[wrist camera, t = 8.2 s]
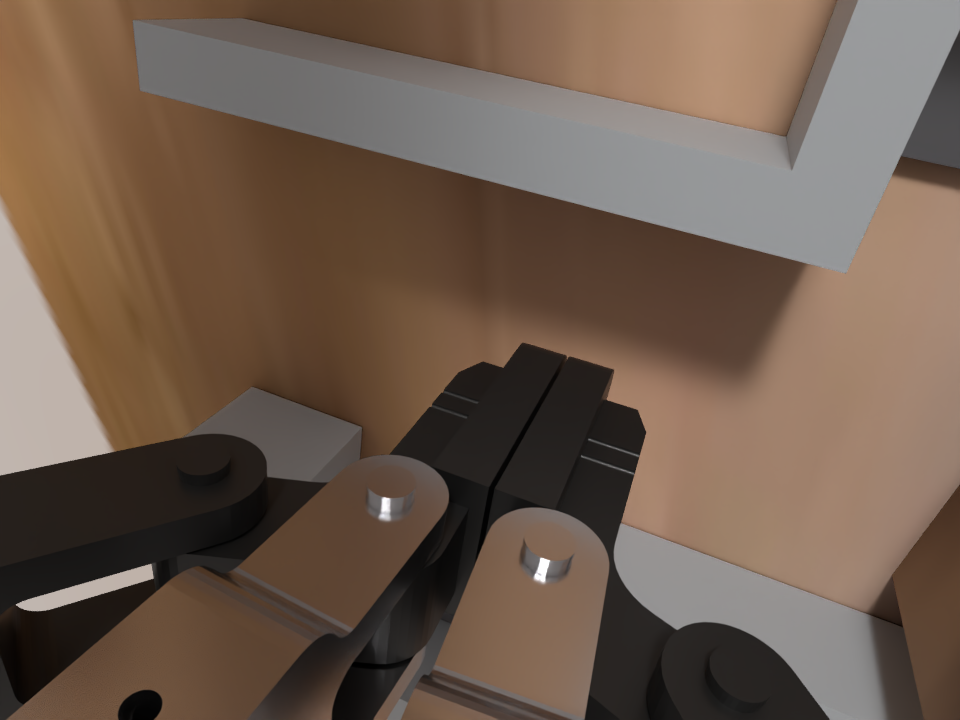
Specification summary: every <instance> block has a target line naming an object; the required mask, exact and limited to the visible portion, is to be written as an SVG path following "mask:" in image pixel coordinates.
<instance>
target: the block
mask: <svg viewBox="0 0 960 720" xmlns="http://www.w3.org/2000/svg"><path fill="white" fill-rule="evenodd" d="M892 578H893V582H894V587H895V591H896V596H897V600H898V605H899V609H900V614H901V618H902V623H903V627H904V632H905V636H906V641H907V646H908V650H909V655H910V659H911V664H912V668H913V673H914V677H915V682H916V686H917V691H918V695H919V700H920V704H921V709H922V713H923V718H924V720H960V485H959V487H958V488H957V489H956V491H955V492H954V493H953V495H952V496H951V497H950V499H949V500H948V501H947V503H946V504H945V505H944V507H943V508H942V509H941V511H940V512H939V513H938V515H937V516H936V517H935V519H934V520H933V521H932V523H931V524H930V525H929V527H928V528H927V529H926V531H925V532H924V533H923V535H922V536H921V537H920V539H919V540H918V541H917V543H916V544H915V545H914V547H913V548H912V549H911V551H910V552H909V553H908V555H907V556H906V557H905V559H904V560H903V561H902V563H901V564H900V565H899V567H898V568H897V569H896V571H895V572H894V573H893V575H892Z"/></svg>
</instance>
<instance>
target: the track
mask: <svg viewBox="0 0 960 720" xmlns="http://www.w3.org/2000/svg"><path fill="white" fill-rule="evenodd" d="M133 28H134V37H135V47H136V57H137V66H138V76H139V86H140V91H143V92H147V93H151V94H155V95H159V96H162V97H166V98H170V99H174V100H178V101H182V102H186V103H189V104H193V105H197V106H201V107H205V108H209V109H213V110H216V111H220V112H224V113H228V114H232V115H236V116H240V117H243V118H247V119H251V120H255V121H259V122H263V123H267V124H270V125H274V126H278V127H282V128H286V129H290V130H294V131H297V132H301V133H305V134H309V135H313V136H317V137H321V138H324V139H328V140H332V141H336V142H340V143H344V144H348V145H352V146H355V147H359V148H363V149H367V150H371V151H375V152H379V153H382V154H386V155H390V156H394V157H398V158H402V159H406V160H409V161H413V162H417V163H421V164H425V165H429V166H433V167H436V168H440V169H444V170H448V171H452V172H456V173H460V174H463V175H467V176H471V177H475V178H479V179H483V180H487V181H490V182H494V183H498V184H502V185H506V186H510V187H514V188H517V189H521V190H525V191H529V192H533V193H537V194H541V195H544V196H548V197H552V198H556V199H560V200H564V201H568V202H571V203H575V204H579V205H583V206H587V207H591V208H595V209H598V210H602V211H606V212H610V213H614V214H618V215H622V216H625V217H629V218H633V219H637V220H641V221H645V222H649V223H652V224H656V225H660V226H664V227H668V228H672V229H676V230H680V231H683V232H687V233H691V234H695V235H699V236H703V237H707V238H710V239H714V240H718V241H722V242H726V243H730V244H734V245H737V246H741V247H745V248H749V249H753V250H757V251H761V252H764V253H768V254H772V255H776V256H780V257H784V258H788V259H791V260H795V261H799V262H803V263H807V264H811V265H815V266H818V267H822V268H826V269H830V270H834V271H838V272H842V273H845V274H846V273H847V270H848V268H849V266H850V264H851V262H852V260H853V258H854V255H855V253H856V251H857V249H858V247H859V245H860V243H861V240H862V238H863V236H864V234H865V232H866V230H867V228H868V225H869V223H870V221H871V219H872V217H873V215H874V213H875V210H876V208H877V206H878V204H879V202H880V200H881V198H882V195H883V193H884V191H885V189H886V187H887V185H888V183H889V180H890V178H891V176H892V174H893V172H894V170H895V168H896V165H897V163H898V161H899V159H900V157H901V156H903V157H908V158H912V159H917V160H922V161H926V162H931V163H936V164H940V165H945V166H949V167H954V168H959V169H960V0H837V3H836V5H835V8H834V11H833V13H832V16H831V19H830V21H829V24H828V27H827V29H826V32H825V35H824V37H823V40H822V43H821V45H820V48H819V51H818V53H817V56H816V59H815V61H814V64H813V67H812V69H811V72H810V75H809V77H808V80H807V83H806V85H805V88H804V91H803V94H802V96H801V99H800V102H799V104H798V107H797V110H796V112H795V115H794V118H793V120H792V123H791V126H790V128H789V131H788V134H787V136H786V137H785V136H780V135H776V134H771V133H767V132H762V131H757V130H753V129H748V128H744V127H739V126H734V125H730V124H725V123H721V122H716V121H711V120H707V119H702V118H698V117H693V116H689V115H684V114H679V113H675V112H670V111H666V110H661V109H656V108H652V107H647V106H643V105H638V104H633V103H629V102H624V101H620V100H615V99H610V98H606V97H601V96H597V95H592V94H588V93H583V92H578V91H574V90H569V89H565V88H560V87H555V86H551V85H546V84H542V83H537V82H532V81H528V80H523V79H519V78H514V77H510V76H505V75H500V74H496V73H491V72H487V71H482V70H477V69H473V68H468V67H464V66H459V65H454V64H450V63H445V62H441V61H436V60H432V59H427V58H422V57H418V56H413V55H409V54H404V53H399V52H395V51H390V50H386V49H381V48H376V47H372V46H367V45H363V44H358V43H353V42H349V41H344V40H340V39H335V38H331V37H326V36H321V35H317V34H312V33H308V32H303V31H298V30H294V29H289V28H285V27H280V26H275V25H271V24H266V23H262V22H257V21H253V20H248V19H243V18H219V19H161V20H133ZM200 434H227V435H233V436H237V437H240V438H243V439H245V440H248V441H250V442H251V443H253V444H254V445H256V446H257V447H258V448H259V449H260V450H261V451H262V452H263V454H264V456H265V458H266V461H267V477H274V478H283V479H291V480H300V481H309V482H330V481H331V480H332V479H333V478H334V477H335V476H336V475H337V474H338V473H339V472H340V471H341V470H343V469H344V468H345V467H347V466H348V465H350V464H352V463H353V462H355V461H358V460H360V450H361V436H362V427H360V426H357V425H354V424H352V423H349V422H346V421H344V420H341V419H338V418H336V417H333V416H330V415H327V414H325V413H322V412H319V411H317V410H314V409H311V408H308V407H306V406H303V405H300V404H298V403H295V402H292V401H290V400H287V399H284V398H281V397H279V396H276V395H273V394H271V393H268V392H265V391H263V390H260V389H257V388H254V387H251V388H250V389H248V390H247V391H245V392H244V393H243V394H241V395H240V396H239V397H237V398H236V399H235V400H233V401H232V402H230V403H229V404H228V405H226V406H225V407H224V408H222V409H221V410H220V411H218V412H217V413H216V414H214V415H213V416H211V417H210V418H209V419H207V420H206V421H205V422H203V423H202V424H201V425H199V426H198V427H197V428H195V429H194V430H192V431H191V432H190V433H188V434H187V435H186V436H184V437H189V436H194V435H200ZM184 437H183V438H184ZM614 561H615V565H616V569H617V571H618V574H619V576H620V578H621V580H622V581H623V583H624V585H625V586H626V588H627V589H628V590H629V591H630V593H631V594H632V595H633V596H634V597H635V598H636V599H637V600H638V601H639V602H640V603H641V604H642V605H643V606H644V607H646V608H647V609H648V610H649V611H651V612H652V613H653V614H655V615H656V616H658V617H659V618H661V619H662V620H663V621H665V622H666V623H668V624H669V625H671V626H672V627H673V628H675V629H676V630H678V629H680V628H682V627H684V626H686V625H689V624H693V623H699V622H715V623H721V624H726V625H729V626H732V627H735V628H738V629H741V630H743V631H745V632H747V633H749V634H751V635H753V636H755V637H756V638H758V639H760V640H761V641H763V642H764V643H765V644H767V645H768V646H769V647H771V648H772V649H773V650H775V651H776V652H777V653H778V654H779V655H780V656H781V657H782V658H783V659H784V660H785V661H786V662H787V664H788V665H789V666H790V667H791V668H792V670H793V671H794V672H795V673H796V675H797V676H798V677H799V679H800V680H801V681H802V683H803V684H804V685H805V687H806V688H807V689H808V691H809V692H810V693H811V695H812V696H813V697H814V699H815V700H816V701H817V703H818V704H819V705H820V707H821V708H822V710H823V711H824V712H825V714H826V715H827V716H828V718H829V719H830V720H924V718H923V713H922V709H921V704H920V700H919V695H918V691H917V686H916V682H915V677H914V673H913V668H912V664H911V659H910V655H909V650H908V646H907V641H906V636H905V632H904V628H903V627H900V626H898V625H895V624H892V623H890V622H887V621H884V620H881V619H879V618H876V617H873V616H871V615H868V614H865V613H863V612H860V611H857V610H854V609H852V608H849V607H846V606H844V605H841V604H838V603H836V602H833V601H830V600H827V599H825V598H822V597H819V596H817V595H814V594H811V593H809V592H806V591H803V590H800V589H798V588H795V587H792V586H790V585H787V584H784V583H781V582H779V581H776V580H773V579H771V578H768V577H765V576H763V575H760V574H757V573H754V572H752V571H749V570H746V569H744V568H741V567H738V566H736V565H733V564H730V563H727V562H725V561H722V560H719V559H717V558H714V557H711V556H708V555H706V554H703V553H700V552H698V551H695V550H692V549H690V548H687V547H684V546H681V545H679V544H676V543H673V542H671V541H668V540H665V539H663V538H660V537H657V536H654V535H652V534H649V533H646V532H644V531H641V530H638V529H636V528H633V527H630V526H627V525H625V524H622V523H621V524H620V527H619V531H618V535H617V538H616V542H615V547H614ZM453 618H454V616H453V615H450V614H448V613H445V612H444V614H443V616H442V618H441V619H440V621H439V623H438V625H437V627H436V629H435V631H434V633H433V635H432V636H431V638H430V640H429V641H428V643H427V649H426V654H425V657H424V660H423V662H422V664H421V666H420V667H419V669H418V670H417V672H416V674H415V675H414V677H413V678H412V680H411V682H410V683H409V685H408V686H407V688H406V689H405V691H404V693H403V694H402V696H401V697H400V699H399V701H398V702H397V704H396V705H395V707H394V708H393V710H392V712H391V713H390V715H389V716H388V718H387V720H401V718H402V715H403V713H404V711H405V708H406V706H407V704H408V701H409V699H410V697H411V695H412V693H413V691H414V688H415V687H416V685H417V683H418V681H419V680H420V678H421V677H422V676H423V675H424V674H426V675H428V676H429V674H430V673H431V671H432V669H433V667H434V665H435V662H436V660H437V657H438V655H439V653H440V650H441V648H442V645H443V643H444V640H445V638H446V635H447V633H448V630H449V628H450V625H451V623H452V620H453Z"/></svg>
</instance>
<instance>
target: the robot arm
mask: <svg viewBox="0 0 960 720" xmlns="http://www.w3.org/2000/svg"><path fill="white" fill-rule="evenodd" d="M613 374H614V370H613V369H610V368H607V367H603V366H600V365H597V364H593V363H590V362H587V361H584V360H580V359H577V358H574V357H569V358H568V359H567V356H566V355H563V354H560V353H556V352H553V351H550V350H547V349H543V348H540V347H537V346H533V345H530V344H527V343H522V344H521V345H520V346H519V347H518V349H517V350H516V351H515V353H514V354H513V356H512V357H511V358H510V360H509V361H508V362H507V364H506V365H505V367H504V368H502V367H499V366H495V365H492V364H489V363H486V362H481V363H478V364H476V365H474V366H472V367H470V368H467V369H465V370H463V371H461V372H458V374H457V375H456V376H455V377H454V378H453V380H452V381H451V382H450V383H449V384H448V386H447V387H446V388H445V389H444V392H443V393H441V394H440V395H439V396H438V397H437V399H436V400H435V401H434V402H433V404H432V407H429V408H428V409H427V411H426V412H425V413H424V414H423V415H422V416H421V418H420V419H419V420H418V421H417V422H416V424H415V425H414V426H413V427H412V428H411V430H410V431H409V432H408V433H407V434H406V436H405V437H404V438H403V439H402V440H401V441H400V443H399V444H398V445H397V446H396V447H395V449H394V450H393V451H392V452H391V453H390V455H377V456H371V457H367V458H363V459H360V460H358V461H355V462H353V463H352V464H350V465H348V466H347V467H345V468H344V469H343V470H341V471H340V472H339V473H338V474H337V475H336V476H335V477H334V478H333V479H332V480H331V481H330V482H309V481H300V480H291V479H283V478H274V477H267V461H266V458H265V456H264V454H263V452H262V451H261V450H260V449H259V448H258V447H257V446H256V445H254V444H253V443H251V442H250V441H248V440H245V439H243V438H240V437H237V436H233V435H227V434H200V435H194V436H189V437H184V438H179V439H174V440H169V441H165V442H160V443H155V444H150V445H145V446H141V447H136V448H131V449H126V450H121V451H116V452H112V453H107V454H102V455H97V456H92V457H88V458H83V459H78V460H74V461H68V462H63V463H59V464H54V465H49V466H44V467H39V468H35V469H30V470H25V471H20V472H15V473H11V474H6V475H1V476H0V720H387V718H388V716H389V715H390V713H391V712H392V710H393V708H394V707H395V705H396V704H397V702H398V701H399V699H400V697H401V696H402V694H403V693H404V691H405V689H406V688H407V686H408V685H409V683H410V682H411V680H412V678H413V677H414V675H415V674H416V672H417V670H418V669H419V667H420V666H421V664H422V662H423V660H424V657H425V654H426V649H427V643H428V641H429V640H430V638H431V636H432V635H433V633H434V631H435V629H436V627H437V625H438V623H439V621H440V619H441V618H442V616H443V614H444V612H445V613H448V614H450V615H453V616H454V618H453V620H452V623H451V625H450V628H449V630H448V633H447V635H446V638H445V640H444V643H443V645H442V648H441V650H440V653H439V655H438V657H437V660H436V662H435V665H434V667H433V669H432V671H431V673H430V674H429V676H428V675H426V674H424V675H423V676H422V677H421V678H420V680H419V681H418V683H417V685H416V687H415V688H414V691H413V693H412V695H411V697H410V699H409V701H408V704H407V706H406V708H405V711H404V713H403V715H402V718H401V720H830V719H829V718H828V716H827V715H826V714H825V712H824V711H823V710H822V708H821V707H820V705H819V704H818V703H817V701H816V700H815V699H814V697H813V696H812V695H811V693H810V692H809V691H808V689H807V688H806V687H805V685H804V684H803V683H802V681H801V680H800V679H799V677H798V676H797V675H796V673H795V672H794V671H793V670H792V668H791V667H790V666H789V665H788V664H787V662H786V661H785V660H784V659H783V658H782V657H781V656H780V655H779V654H778V653H777V652H776V651H775V650H773V649H772V648H771V647H769V646H768V645H767V644H765V643H764V642H763V641H761V640H760V639H758V638H756V637H755V636H753V635H751V634H749V633H747V632H745V631H743V630H741V629H738V628H735V627H732V626H729V625H726V624H721V623H715V622H699V623H693V624H689V625H686V626H684V627H682V628H680V629H678V630H676V629H675V628H673V627H672V626H671V625H669V624H668V623H666V622H665V621H663V620H662V619H661V618H659V617H658V616H656V615H655V614H653V613H652V612H651V611H649V610H648V609H647V608H646V607H644V606H643V605H642V604H641V603H640V602H639V601H638V600H637V599H636V598H635V597H634V596H633V595H632V594H631V593H630V591H629V590H628V589H627V588H626V586H625V585H624V583H623V581H622V580H621V578H620V576H619V574H618V571H617V569H616V565H615V561H614V547H615V542H616V538H617V535H618V531H619V527H620V524H621V520H622V517H623V513H624V510H625V506H626V502H627V499H628V495H629V492H630V488H631V485H632V481H633V478H634V474H635V470H636V467H637V463H638V460H639V456H640V453H641V449H642V445H643V442H644V438H645V435H646V431H645V428H644V425H643V423H642V420H641V418H640V415H639V412H638V410H636V409H633V408H630V407H627V406H623V405H620V404H617V403H614V402H611V401H607V396H608V393H609V389H610V386H611V382H612V378H613ZM148 564H152V570H153V576H154V579H151V580H148V581H144V582H141V583H138V584H135V585H131V586H128V587H124V588H121V589H118V590H115V591H111V592H108V593H104V594H101V595H98V596H94V597H91V598H88V599H84V600H81V601H78V602H75V603H71V604H68V605H64V606H61V607H58V608H54V609H51V610H46V611H27V610H24V609H21V608H19V607H18V606H16V605H15V604H17V603H20V602H22V601H24V600H27V599H30V598H34V597H37V596H40V595H44V594H48V593H51V592H55V591H58V590H61V589H65V588H69V587H72V586H75V585H79V584H82V583H86V582H89V581H93V580H96V579H99V578H103V577H106V576H110V575H113V574H117V573H120V572H124V571H127V570H131V569H134V568H137V567H141V566H145V565H148Z"/></svg>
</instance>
